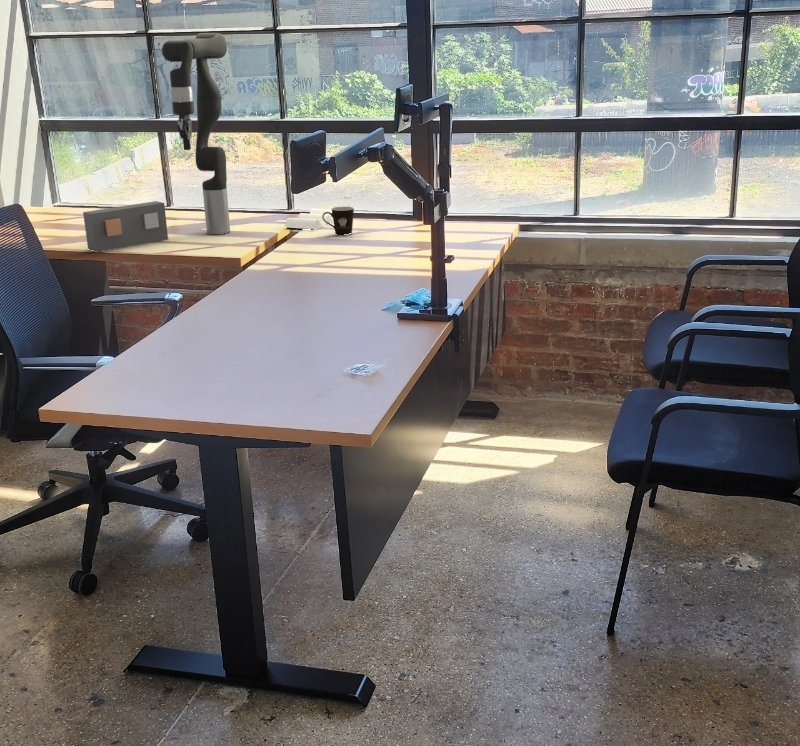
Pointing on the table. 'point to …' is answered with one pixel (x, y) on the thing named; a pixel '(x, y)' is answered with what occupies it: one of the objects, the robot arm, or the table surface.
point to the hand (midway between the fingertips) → (187, 149)
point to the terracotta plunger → (113, 227)
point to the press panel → (124, 226)
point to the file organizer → (312, 218)
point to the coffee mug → (341, 219)
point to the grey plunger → (150, 220)
